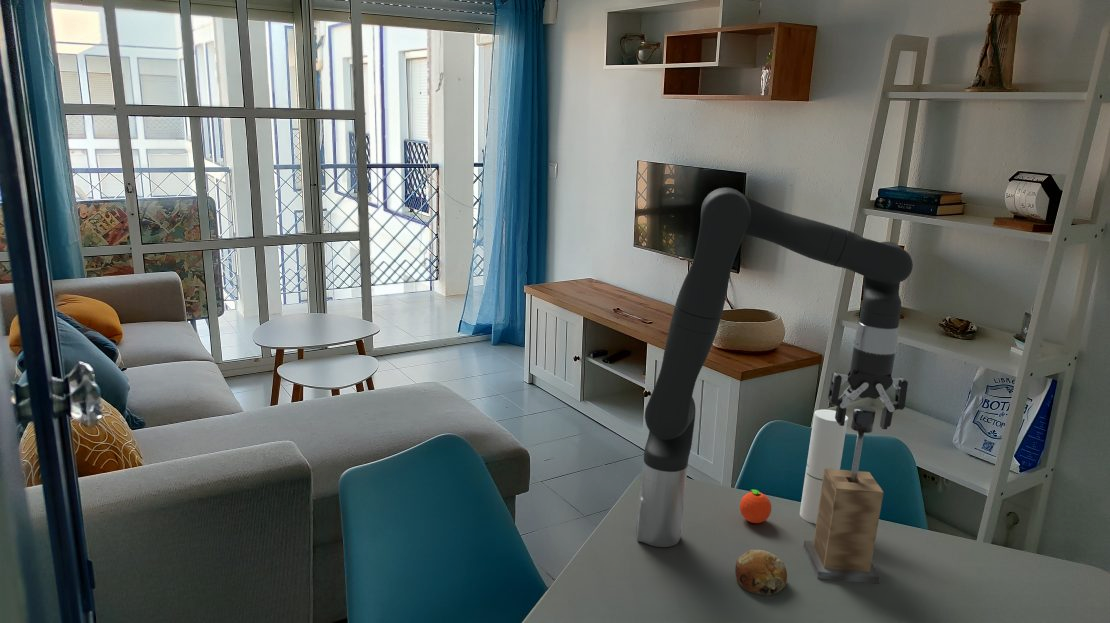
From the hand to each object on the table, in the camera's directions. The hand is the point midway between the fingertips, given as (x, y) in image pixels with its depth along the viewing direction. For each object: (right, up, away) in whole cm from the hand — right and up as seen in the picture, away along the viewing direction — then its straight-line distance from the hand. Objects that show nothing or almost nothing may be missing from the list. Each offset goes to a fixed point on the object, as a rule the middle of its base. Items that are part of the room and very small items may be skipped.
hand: (862, 426), depth 157 cm
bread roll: (-20, -31, 0) cm, 37 cm away
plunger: (-1, -20, +5) cm, 20 cm away
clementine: (-16, -25, +24) cm, 38 cm away
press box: (-2, -30, +8) cm, 31 cm away
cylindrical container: (0, -25, +27) cm, 37 cm away
